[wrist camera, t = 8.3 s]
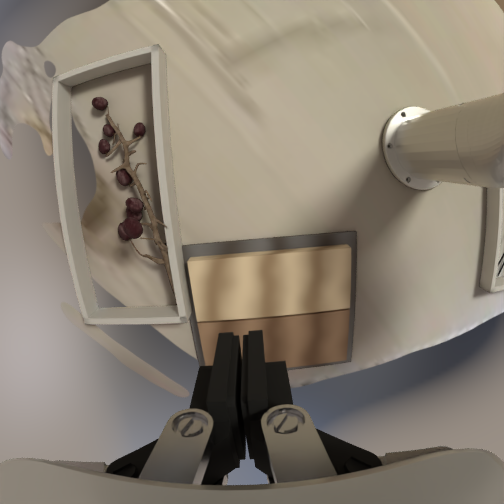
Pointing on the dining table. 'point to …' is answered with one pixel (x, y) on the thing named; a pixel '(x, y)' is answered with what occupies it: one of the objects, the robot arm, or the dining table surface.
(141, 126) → the decorative branch
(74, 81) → the branch tray
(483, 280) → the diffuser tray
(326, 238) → the walnut floor board
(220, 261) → the oak plank
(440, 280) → the dining table surface
